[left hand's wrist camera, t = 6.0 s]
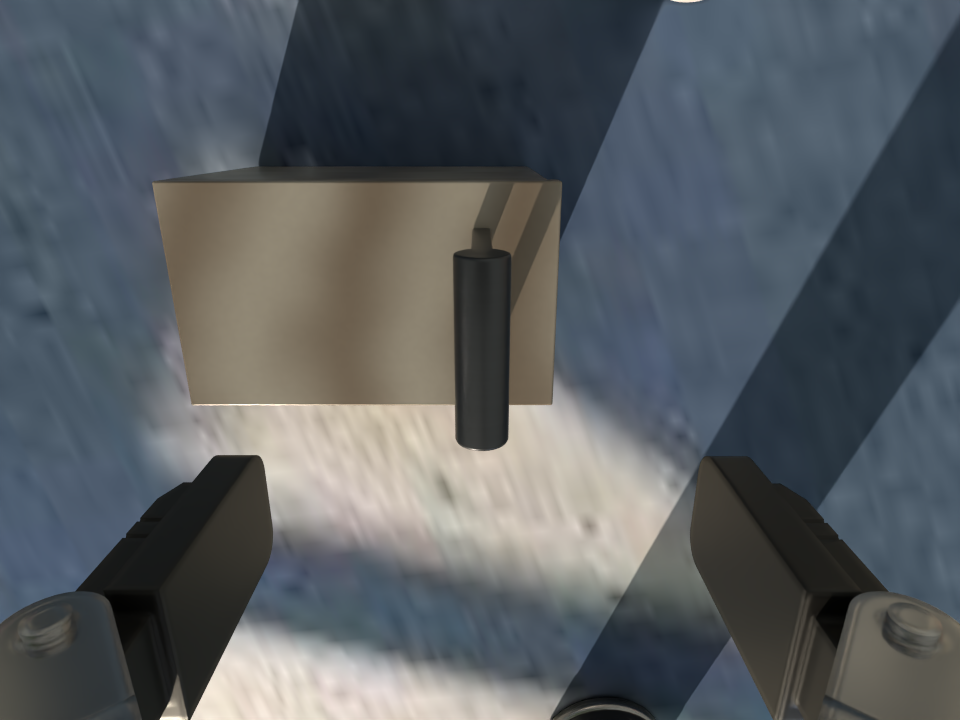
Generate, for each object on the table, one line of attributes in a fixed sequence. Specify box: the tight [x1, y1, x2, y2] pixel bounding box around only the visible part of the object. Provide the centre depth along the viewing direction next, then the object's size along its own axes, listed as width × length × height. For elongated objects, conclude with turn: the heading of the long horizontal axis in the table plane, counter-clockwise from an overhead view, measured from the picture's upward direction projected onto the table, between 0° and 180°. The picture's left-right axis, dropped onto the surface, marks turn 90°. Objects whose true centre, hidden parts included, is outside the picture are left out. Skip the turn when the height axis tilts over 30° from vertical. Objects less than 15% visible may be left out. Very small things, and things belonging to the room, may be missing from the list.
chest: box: [167, 167, 547, 180], centre depth 31 cm, size 15×9×10 cm, turn 90°
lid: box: [152, 180, 562, 451], centre depth 22 cm, size 16×9×8 cm, turn 90°
